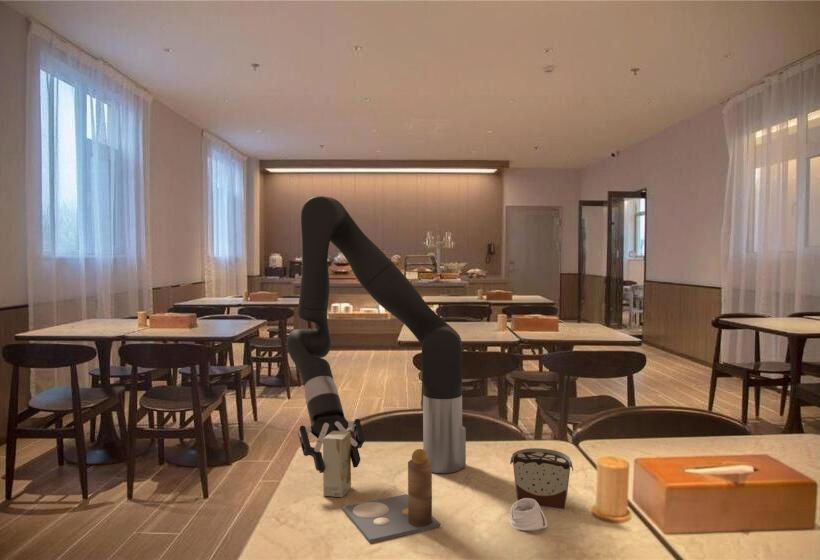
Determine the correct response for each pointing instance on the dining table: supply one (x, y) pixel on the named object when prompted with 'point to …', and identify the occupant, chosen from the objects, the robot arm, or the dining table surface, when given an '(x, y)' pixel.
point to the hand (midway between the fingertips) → (339, 468)
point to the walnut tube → (420, 489)
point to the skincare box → (337, 463)
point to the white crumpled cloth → (527, 515)
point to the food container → (542, 476)
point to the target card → (384, 518)
